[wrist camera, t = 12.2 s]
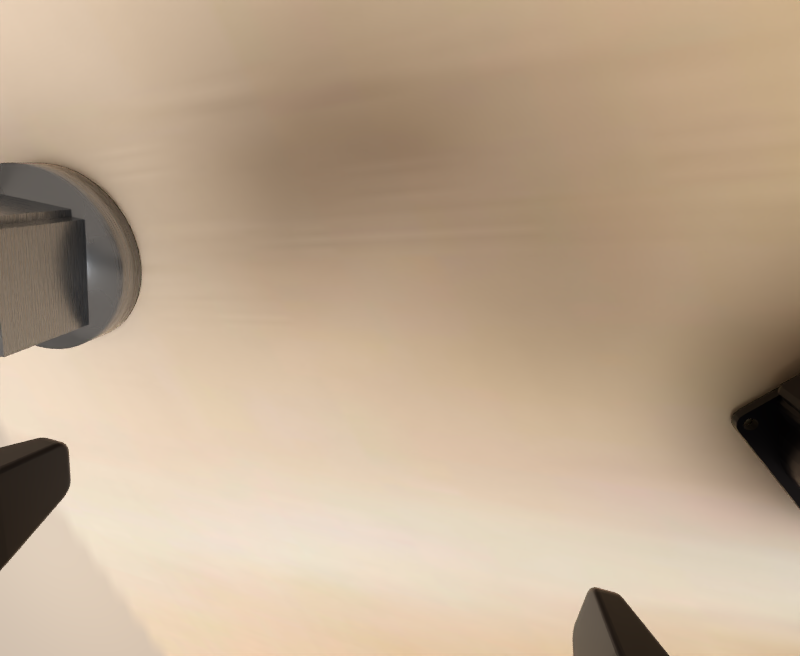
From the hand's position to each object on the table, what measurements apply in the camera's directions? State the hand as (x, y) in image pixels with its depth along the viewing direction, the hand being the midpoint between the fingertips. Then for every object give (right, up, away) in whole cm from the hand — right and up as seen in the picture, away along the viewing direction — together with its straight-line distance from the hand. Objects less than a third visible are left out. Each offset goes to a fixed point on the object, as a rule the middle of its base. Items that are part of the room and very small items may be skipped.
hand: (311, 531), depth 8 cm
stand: (-14, +7, +14) cm, 21 cm away
